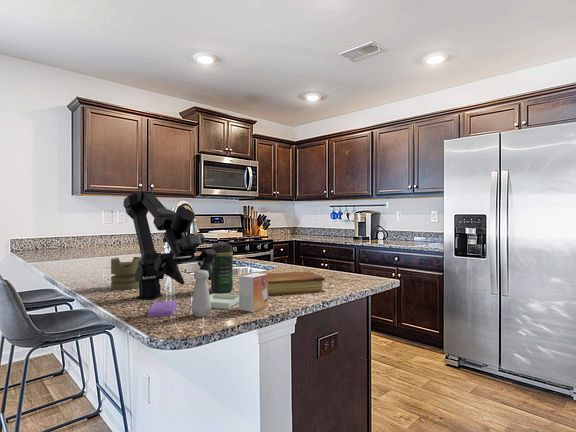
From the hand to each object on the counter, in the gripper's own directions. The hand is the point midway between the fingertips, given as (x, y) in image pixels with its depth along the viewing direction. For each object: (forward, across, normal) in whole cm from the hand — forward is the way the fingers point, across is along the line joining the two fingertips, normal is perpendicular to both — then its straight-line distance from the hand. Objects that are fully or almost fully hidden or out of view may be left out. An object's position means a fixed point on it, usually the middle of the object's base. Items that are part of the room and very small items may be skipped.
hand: (197, 281), depth 107 cm
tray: (+3, +12, +11) cm, 16 cm away
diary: (+3, +44, +11) cm, 46 cm away
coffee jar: (-9, +24, +22) cm, 34 cm away
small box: (+12, +15, +2) cm, 20 cm away
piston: (-33, +1, +46) cm, 56 cm away
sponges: (-1, -5, +15) cm, 16 cm away
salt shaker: (+8, 0, +6) cm, 10 cm away
